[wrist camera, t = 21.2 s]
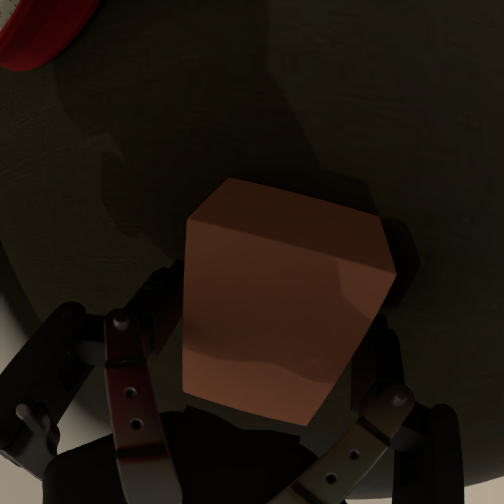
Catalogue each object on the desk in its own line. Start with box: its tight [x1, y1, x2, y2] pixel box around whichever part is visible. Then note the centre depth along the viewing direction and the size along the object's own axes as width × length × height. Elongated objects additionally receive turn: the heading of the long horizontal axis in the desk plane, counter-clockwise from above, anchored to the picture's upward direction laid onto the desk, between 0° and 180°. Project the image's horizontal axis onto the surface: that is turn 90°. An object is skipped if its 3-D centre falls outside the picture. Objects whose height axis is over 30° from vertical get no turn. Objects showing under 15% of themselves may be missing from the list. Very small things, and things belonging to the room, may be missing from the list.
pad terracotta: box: [183, 177, 397, 426], centre depth 12 cm, size 9×6×4 cm, turn 170°
